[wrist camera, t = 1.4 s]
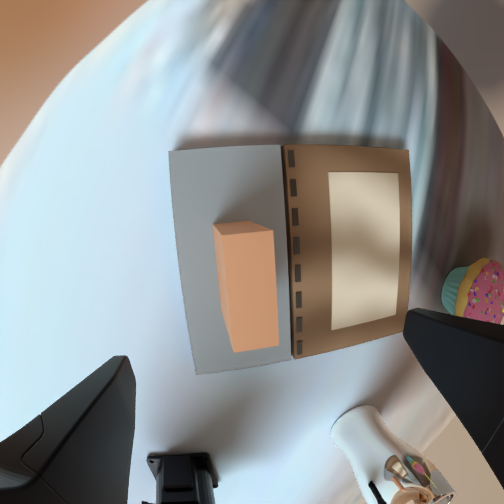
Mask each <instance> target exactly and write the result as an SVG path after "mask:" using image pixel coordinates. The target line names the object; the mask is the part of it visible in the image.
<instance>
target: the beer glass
mask: <svg viewBox="0 0 504 504" xmlns="http://www.w3.org/2000/svg"><path fill="white" fill-rule="evenodd" d="M330 439H331V441H332V443H333V444H334V445H335V446H336V447H337V448H338V449H339V450H340V451H341V452H342V453H343V454H344V455H345V456H346V458H347V459H348V461H349V463H350V465H351V468H352V470H353V473H354V476H355V479H356V481H357V484H358V487H359V490H360V492H361V494H362V497H363V499H364V501H365V503H366V504H450V503H451V502H452V500H453V499H454V498H455V496H456V491H455V490H454V489H453V488H452V487H451V485H450V484H449V483H448V481H447V480H446V479H445V477H444V476H443V475H442V473H441V472H440V471H439V470H438V469H437V468H436V467H435V465H434V464H433V463H432V462H431V461H430V460H429V459H428V458H427V457H425V456H424V455H423V454H422V453H420V452H419V451H418V450H417V449H415V448H414V447H412V446H411V445H409V444H408V443H406V442H405V441H404V440H402V439H401V438H399V437H398V436H397V435H395V434H394V433H393V432H392V431H391V430H390V429H389V428H388V427H387V426H386V425H385V423H384V421H383V419H382V417H381V416H380V414H379V412H378V410H377V409H376V408H375V407H373V406H370V405H363V406H358V407H356V408H353V409H351V410H349V411H348V412H346V413H345V414H343V415H342V416H341V417H340V418H339V419H338V420H337V421H336V422H335V424H334V425H333V427H332V429H331V431H330Z"/></svg>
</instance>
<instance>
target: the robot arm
mask: <svg viewBox="0 0 504 504" xmlns="http://www.w3.org/2000/svg"><path fill="white" fill-rule="evenodd" d="M403 336H404V338H405V340H406V342H407V343H408V345H409V347H410V348H411V350H412V351H413V353H414V355H415V356H416V358H417V360H418V361H419V363H420V365H421V366H422V368H423V369H424V371H425V372H426V374H427V375H428V376H429V378H430V379H431V380H432V382H433V383H434V384H435V386H436V387H437V389H438V390H439V391H440V393H441V394H442V395H443V397H444V398H445V400H446V401H447V402H448V404H449V405H450V407H451V408H452V410H453V411H454V412H455V414H456V415H457V417H458V418H459V419H460V421H461V423H462V424H463V425H464V427H465V428H466V430H467V431H468V433H469V434H470V436H471V437H472V439H473V440H474V442H475V443H476V445H477V446H478V448H479V450H480V451H481V452H482V455H483V456H484V458H485V459H486V461H487V462H488V464H489V466H490V467H491V469H492V471H493V472H494V474H495V476H496V477H497V479H498V480H499V482H500V484H501V485H502V487H503V489H504V325H501V324H497V323H491V322H486V321H481V320H476V319H471V318H465V317H460V316H455V315H450V314H445V313H440V312H435V311H430V310H425V309H421V308H415V309H411V310H409V311H408V312H407V313H406V317H405V323H404V329H403ZM135 401H136V380H135V376H134V373H133V370H132V367H131V364H130V361H129V358H128V357H127V356H125V355H123V356H113V357H112V358H111V359H109V360H108V361H107V362H106V363H104V364H103V365H102V366H100V367H99V368H98V369H97V370H95V371H94V372H93V373H92V374H90V375H89V376H88V377H86V378H85V379H84V380H83V381H81V382H80V383H79V384H77V385H76V386H75V387H74V388H72V389H71V390H70V391H69V392H67V393H66V394H65V395H63V396H62V397H61V398H60V399H58V400H57V401H56V402H55V403H53V404H52V405H51V406H49V407H48V408H47V409H46V410H44V411H43V412H42V413H41V415H38V416H37V417H35V418H34V419H33V420H32V421H30V422H29V423H28V424H26V425H25V426H24V427H22V428H21V429H20V430H18V431H17V432H15V433H14V434H12V435H11V436H9V437H8V438H6V439H5V440H3V441H1V442H0V504H127V499H128V486H129V475H130V465H131V455H132V447H133V439H134V431H135ZM151 460H152V461H151ZM147 463H148V465H149V468H150V469H151V471H152V473H153V475H154V477H155V479H156V504H215V499H214V493H213V488H217V487H218V482H217V479H216V475H215V472H214V469H213V465H212V462H211V458H210V455H209V454H208V453H198V454H186V455H171V456H149V457H147ZM142 504H153V503H148V502H145V501H142Z"/></svg>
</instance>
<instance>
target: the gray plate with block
mask: <svg viewBox="0 0 504 504" xmlns="http://www.w3.org/2000/svg"><path fill="white" fill-rule="evenodd" d="M168 153H169V169H170V183H171V196H172V208H173V218H174V228H175V238H176V247H177V255H178V263H179V271H180V279H181V286H182V293H183V300H184V307H185V313H186V320H187V326H188V332H189V338H190V344H191V349H192V355H193V360H194V366H195V371H196V375H199V374H208V373H216V372H223V371H230V370H237V369H244V368H250V367H256V366H262V365H268V364H273V363H278V362H284V361H289V360H291V338H290V304H289V278H288V256H287V237H286V219H285V203H284V188H283V174H282V161H281V148H280V145H248V146H228V147H212V148H200V149H188V150H178V151H169V152H168Z"/></svg>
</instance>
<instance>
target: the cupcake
mask: <svg viewBox="0 0 504 504" xmlns="http://www.w3.org/2000/svg"><path fill="white" fill-rule="evenodd" d="M441 299H442V304H443V306H444V307H445V308H446V309H447V310H448V311H449V313H450V314H451V315H455V316H460V317H465V318H471V319H476V320H481V321H486V322H491V323H497V324H500V322H501V320H502V318H503V316H504V267H503V266H501V263H500V262H497V261H496V260H491V259H487V258H481V259H479V260H478V261H476V262H475V263H473V264H472V265H470V266H468V267H458V268H455V269H453V270H452V271H451V272H450V273H449V274H448V276H447V277H446V279H445V281H444V284H443V287H442V293H441Z"/></svg>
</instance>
